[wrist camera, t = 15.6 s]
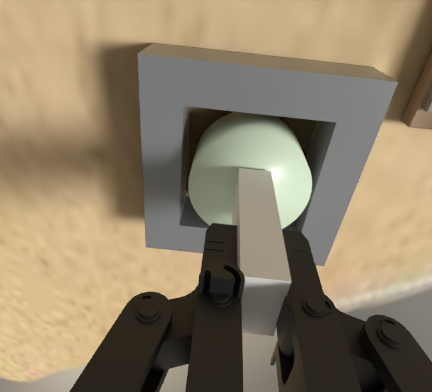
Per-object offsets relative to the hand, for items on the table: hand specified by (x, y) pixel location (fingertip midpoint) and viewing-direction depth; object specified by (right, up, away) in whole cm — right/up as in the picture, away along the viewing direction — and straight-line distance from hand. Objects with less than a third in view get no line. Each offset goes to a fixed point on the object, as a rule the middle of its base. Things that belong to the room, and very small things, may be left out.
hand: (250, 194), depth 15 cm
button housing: (0, +2, +4) cm, 4 cm away
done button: (0, +2, +3) cm, 3 cm away
